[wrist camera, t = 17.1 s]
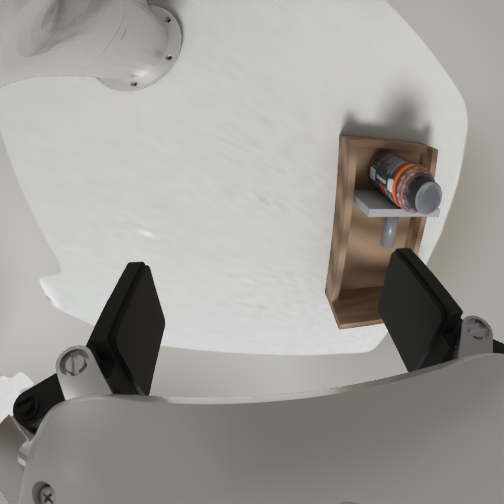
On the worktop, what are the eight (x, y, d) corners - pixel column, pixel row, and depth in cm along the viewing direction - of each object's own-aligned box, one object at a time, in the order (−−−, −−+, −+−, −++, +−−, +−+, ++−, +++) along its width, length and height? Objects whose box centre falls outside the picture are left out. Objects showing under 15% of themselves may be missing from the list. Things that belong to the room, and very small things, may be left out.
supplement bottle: (359, 179, 36) (398, 211, 26) (377, 142, 33) (423, 162, 24) (390, 196, 37) (432, 230, 28) (408, 161, 35) (455, 187, 25)
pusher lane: (339, 135, 34) (367, 147, 26) (422, 143, 34) (459, 159, 26) (325, 292, 47) (339, 329, 40) (394, 285, 48) (415, 317, 40)
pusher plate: (349, 189, 37) (369, 209, 31) (414, 191, 37) (440, 209, 31) (344, 234, 40) (360, 260, 34) (406, 232, 40) (428, 255, 34)
